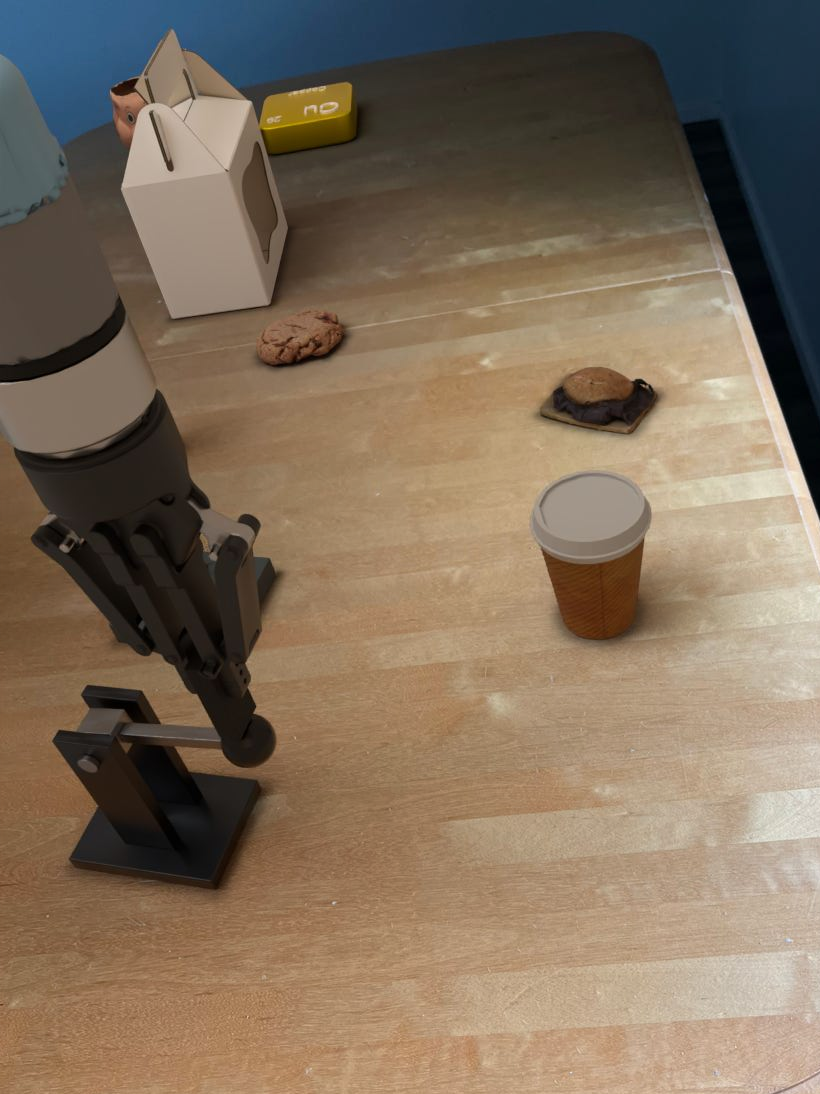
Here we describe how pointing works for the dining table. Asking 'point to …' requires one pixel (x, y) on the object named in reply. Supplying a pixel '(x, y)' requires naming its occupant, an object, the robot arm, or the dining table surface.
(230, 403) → the dining table surface
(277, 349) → the cookie
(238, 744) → the lever handle
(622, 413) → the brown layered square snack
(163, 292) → the gable box
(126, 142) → the decorative planter
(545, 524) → the disposable coffee cup
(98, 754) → the lever stand
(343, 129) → the element tile
